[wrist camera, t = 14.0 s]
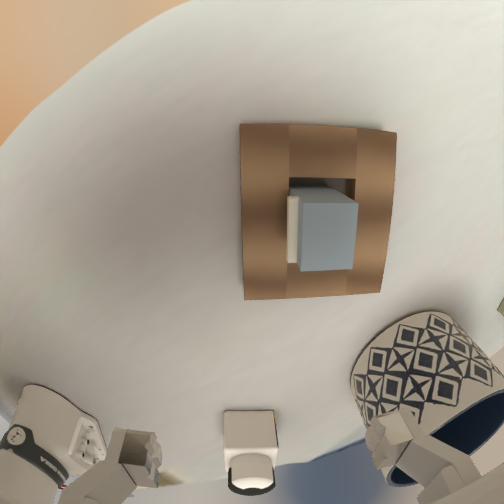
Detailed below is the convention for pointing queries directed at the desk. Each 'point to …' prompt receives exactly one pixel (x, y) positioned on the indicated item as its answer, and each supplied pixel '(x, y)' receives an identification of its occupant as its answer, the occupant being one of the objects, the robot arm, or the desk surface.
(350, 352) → the desk surface
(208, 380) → the desk surface
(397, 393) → the planter
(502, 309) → the small box
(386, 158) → the wooden socket board
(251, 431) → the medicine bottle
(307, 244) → the key block
